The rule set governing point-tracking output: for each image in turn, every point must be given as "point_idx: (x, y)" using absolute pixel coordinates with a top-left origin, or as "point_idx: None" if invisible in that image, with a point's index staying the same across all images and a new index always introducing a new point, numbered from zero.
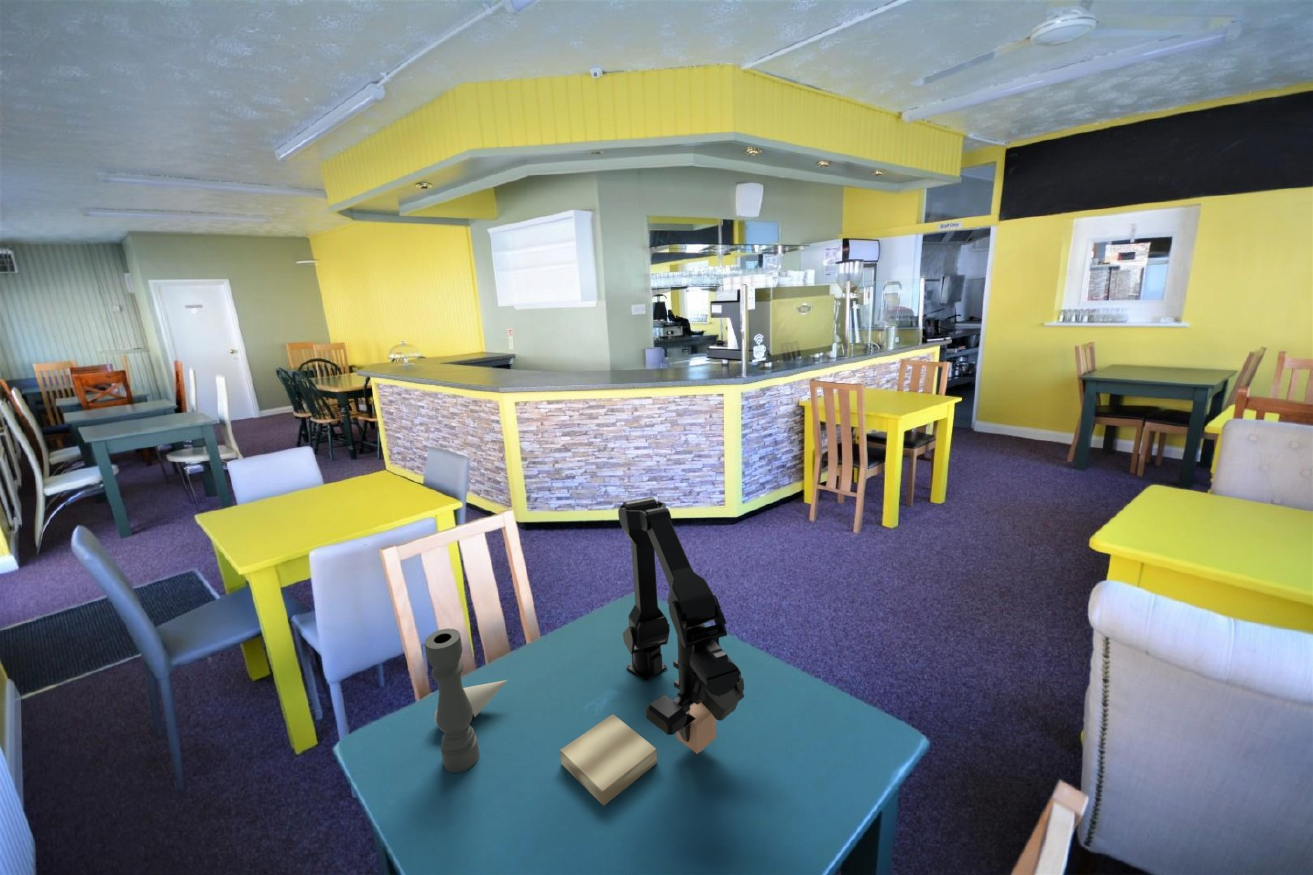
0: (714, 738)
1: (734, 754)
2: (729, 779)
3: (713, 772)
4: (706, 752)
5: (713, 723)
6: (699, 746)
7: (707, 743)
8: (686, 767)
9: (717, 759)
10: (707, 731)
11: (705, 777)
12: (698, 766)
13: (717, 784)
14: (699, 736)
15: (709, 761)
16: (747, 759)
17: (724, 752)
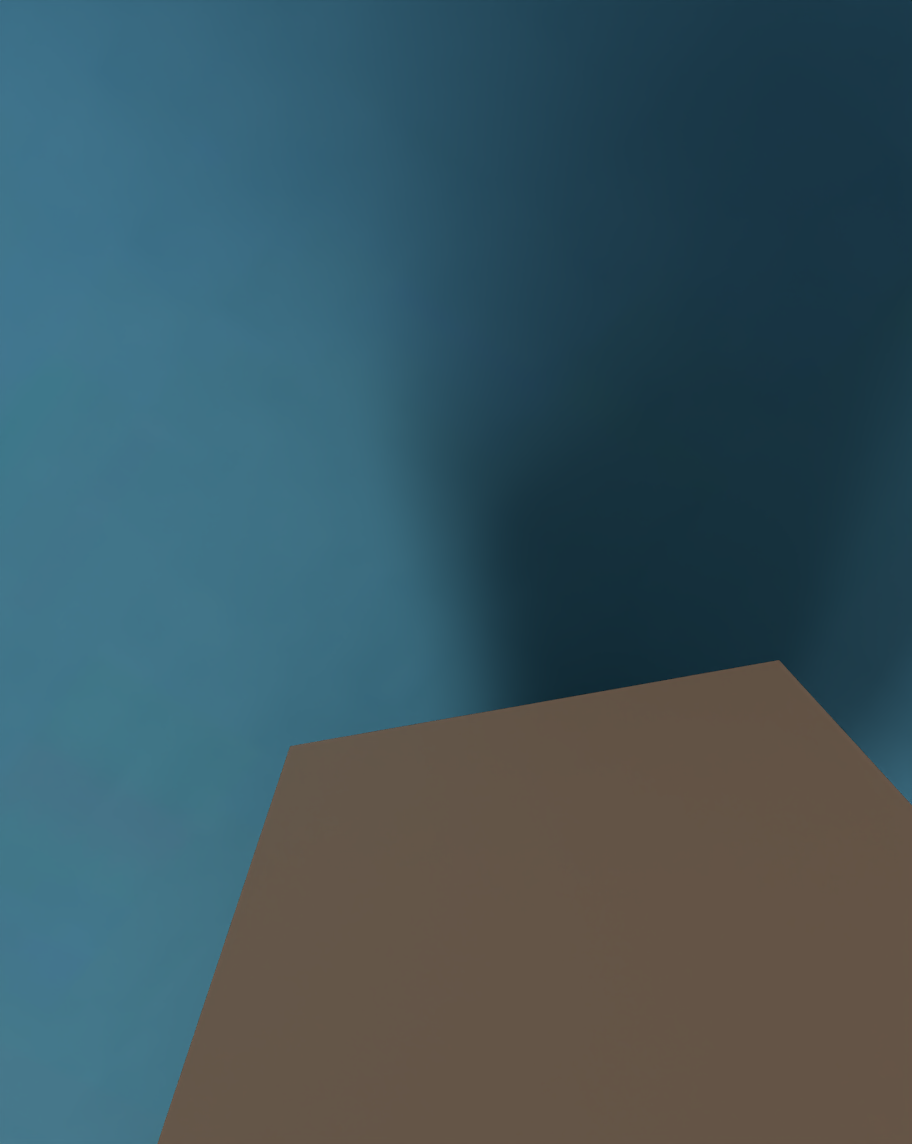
0: (336, 747)
1: (151, 440)
2: (496, 108)
3: (605, 363)
4: (464, 677)
5: (300, 1039)
6: (767, 730)
7: (519, 726)
8: (827, 634)
9: (414, 509)
10: (551, 918)
11: (752, 361)
12: (698, 561)
13: (704, 148)
14: (881, 903)
15: (526, 544)
16: (25, 249)
17: (257, 547)
